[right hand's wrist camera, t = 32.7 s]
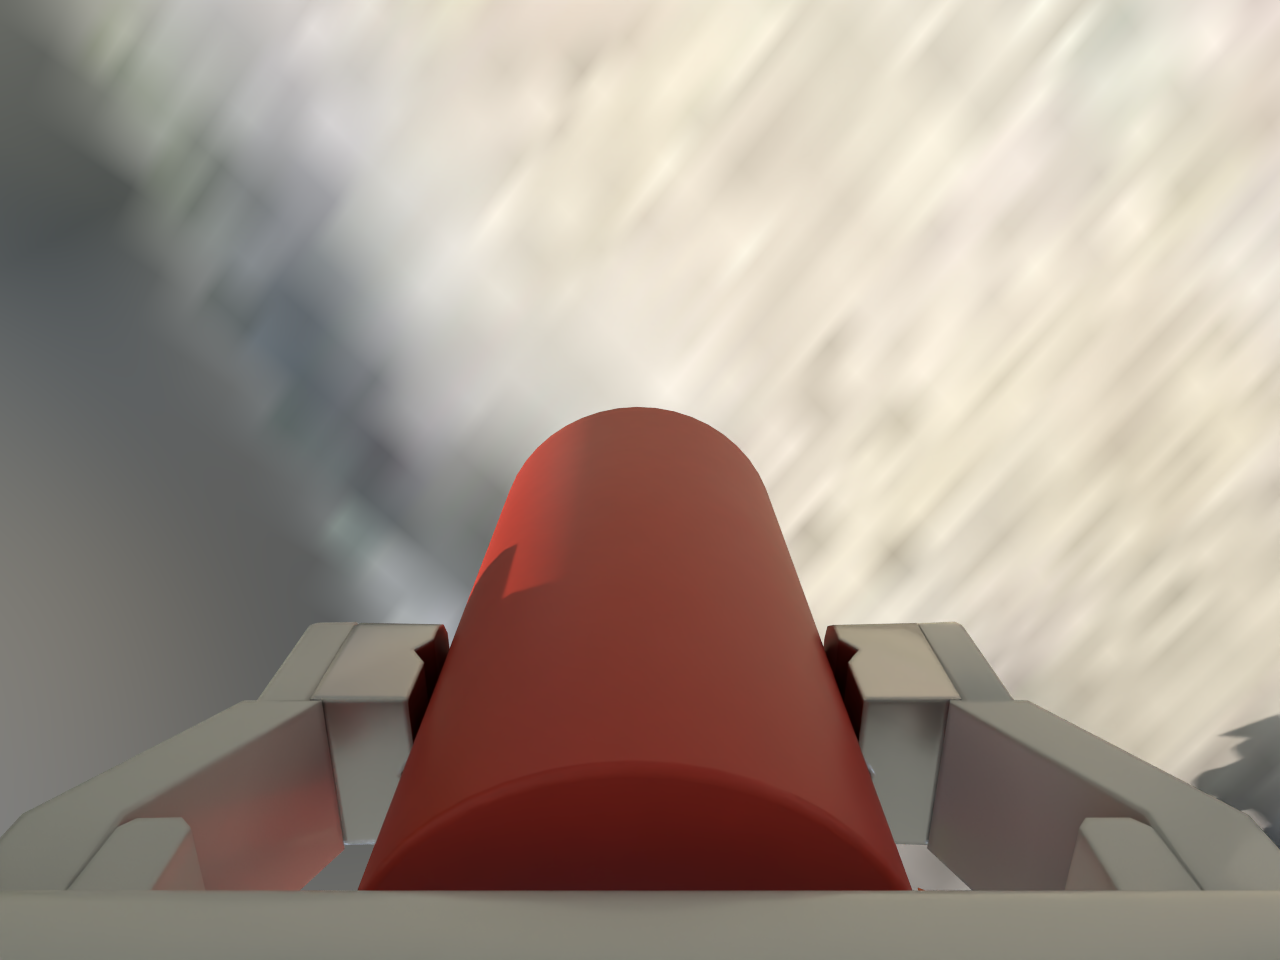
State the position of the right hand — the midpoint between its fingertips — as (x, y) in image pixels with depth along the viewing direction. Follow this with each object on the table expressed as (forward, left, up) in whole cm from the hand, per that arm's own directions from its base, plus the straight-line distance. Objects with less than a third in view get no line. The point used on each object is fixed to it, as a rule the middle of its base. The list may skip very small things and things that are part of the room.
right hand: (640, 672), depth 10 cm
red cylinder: (0, 0, -4) cm, 4 cm away
